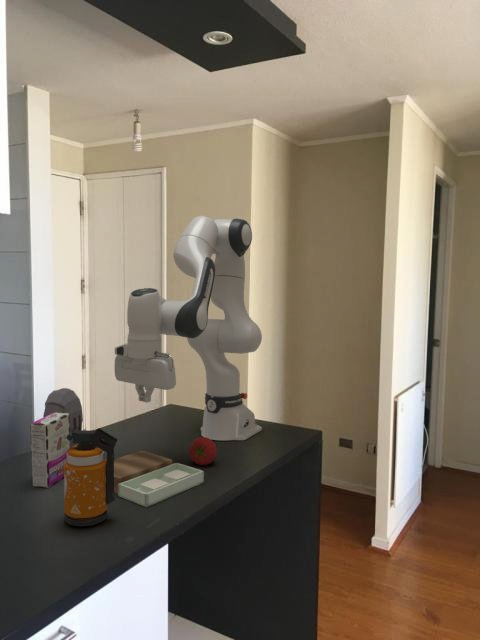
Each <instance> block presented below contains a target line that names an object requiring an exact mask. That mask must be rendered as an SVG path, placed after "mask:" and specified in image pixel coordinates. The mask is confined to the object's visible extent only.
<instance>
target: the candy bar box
mask: <svg viewBox="0 0 480 640" xmlns="http://www.w3.org/2000/svg"><path fill="white" fill-rule="evenodd" d="M29 426H30V451H31V453H30V454H31V483H32V484H31V486H32V487H33V488H45V489H49V488H52V486H54V485H55V484H57V483H58V482H60V481H61V480H63V478H64V464H65V462H66V461H67V452H68V450H69V448H70V440H67V435H68V434H69V433H70V431H69V414H68V413H52V414H50V415H48V416H45V417H41V418H40V419H37V420H35V421H33V422H31V423H30V425H29Z"/></svg>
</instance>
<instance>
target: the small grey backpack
mask: <svg viewBox="0 0 480 640" xmlns="http://www.w3.org/2000/svg"><path fill="white" fill-rule="evenodd" d="M52 413H68V414H69V431H70V433H71V432H74V430H80V431H83V422H84V421H83V420H84V417H83V406H82V403H81V399H80V398H79V396H78V395H77V393H76V392H75V391H74V390H73V389H71V388H67V387H63V388H60V389H56V390H55V389H54V390H52V391H51V392H50V393H49V394H48V396H47V398H46V400H45V401H44V412H43V415H42V416H43V417H45V416H48V415H50V414H52ZM43 417H42V418H43ZM75 445H79V443H73V439H72V440H70V448H71V447H72V446H75Z"/></svg>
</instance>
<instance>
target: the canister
mask: <svg viewBox="0 0 480 640" xmlns="http://www.w3.org/2000/svg"><path fill="white" fill-rule="evenodd" d="M72 439H73V443H79V445H75V446H72V447H71V448H69V450H68V452H67V461H66V462H65V464H64V479H63V482H64V483H63V489H64V491H63V492H64V498H63V499H64V501H63V502H64V522H66V524H69V525H71V526H76V527H89V526H94V525H96V524H99V523H102V522H103V521H104V520H105V519H106V518H107V517H108V505H109V504H111V503H113V502H115V500H116V499H117V497H118V494H117V493H115V492H114V459H115V447H116V445H117V442H118V439H117V438H116V437H114V436H113V435H111V434H110V433H108V432H106V431H104V430H103V429H101V428H100V427H99V428H97V429H95V430H94V429H93V430H89V429H88V430H85V429H84V430H82V431H80V430H74V432H71V433H69V434H68V435H67V440H72ZM105 453H106V454H105ZM105 455H106V458H105Z"/></svg>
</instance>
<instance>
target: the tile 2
mask: <svg viewBox="0 0 480 640" xmlns="http://www.w3.org/2000/svg"><path fill="white" fill-rule="evenodd" d="M190 475H191V474H190V473H186V472H183V471H180V470H174V471H172V472H169V473H166V474H164V475H163V481H164V482H167V483H169V484H171V483H173V482H176V481H178V480H180V479H183V478H185V477H188V476H190Z"/></svg>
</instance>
